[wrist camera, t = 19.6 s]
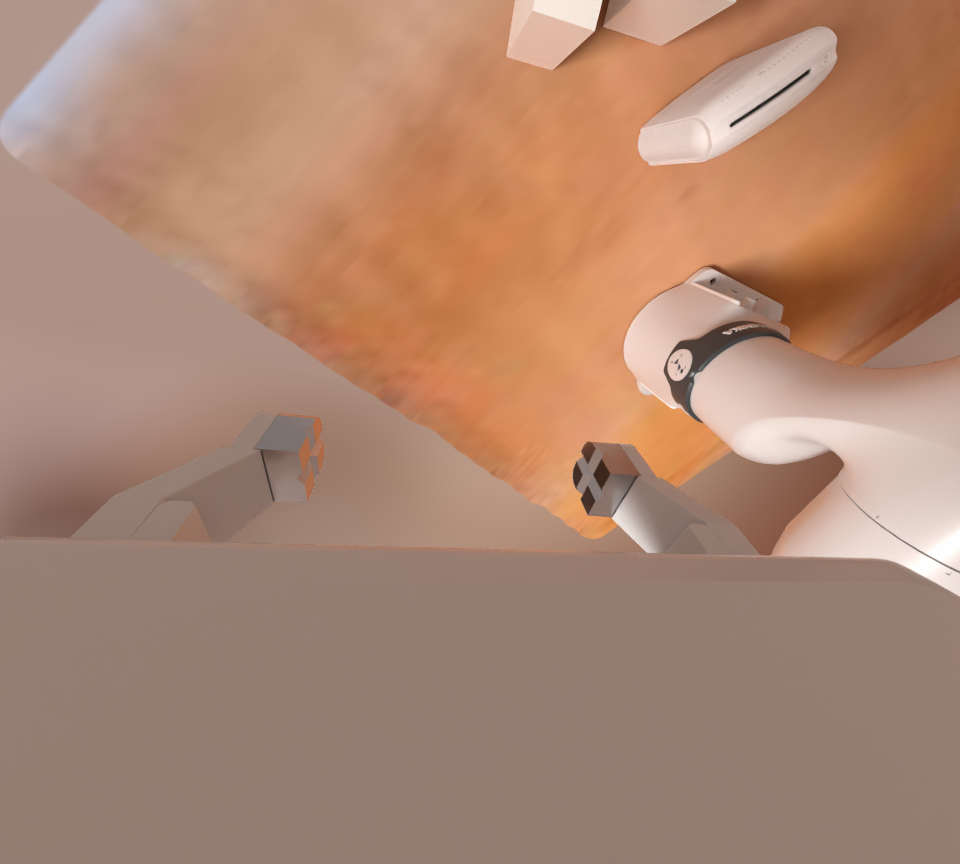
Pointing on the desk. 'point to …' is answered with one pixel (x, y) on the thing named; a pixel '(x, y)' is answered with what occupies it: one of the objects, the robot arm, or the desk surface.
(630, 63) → the desk surface
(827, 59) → the photo printer
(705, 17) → the din mount
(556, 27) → the block
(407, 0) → the desk surface
